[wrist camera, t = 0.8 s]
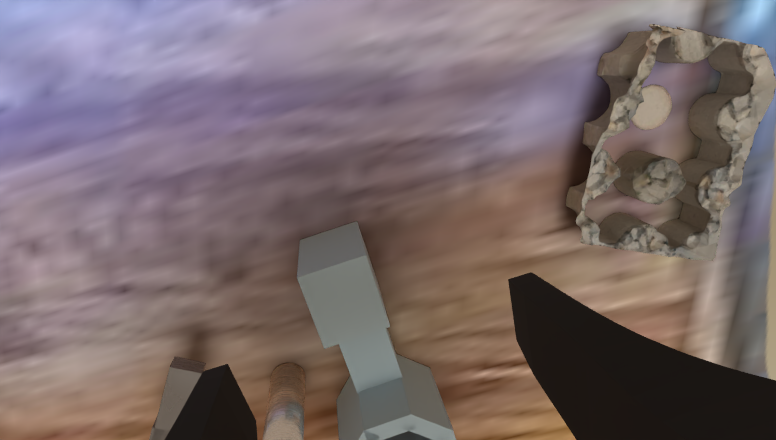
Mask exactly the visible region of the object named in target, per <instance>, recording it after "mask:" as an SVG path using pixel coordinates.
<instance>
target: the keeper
mask: <svg viewBox="0 0 776 440" xmlns="http://www.w3.org/2000/svg"><path fill="white" fill-rule="evenodd" d="M205 365H206V363H204V362H199V361H194V360H189V359H185V358H180V357H174V359H173V361H172V364H171V366H170V368H169V372H168V376H167V380H166V384H165V388H164V392H163V396H162V400H161V404H160V408H159V412H158V416H157V418H156V420H155V423H154V425H153V427H152V431H151V435H150V439H149V440H165V438H166V436H167V435H168V433H169V431H170V429H171V428H172V426H173V424H174V423H175V421H176V419H177V417H178V415H179V414H180V412H181V410H182V408H183V406H184V405H185V403H186V401H187V399H188V397H189V396H190V394H191V392H192V390H193V388H194V386H195V385H196V383H197V381H198V379H199V378H200V376H201V374H202V373H203V371H204V369H205Z"/></svg>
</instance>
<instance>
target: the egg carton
mask: <svg viewBox="0 0 776 440" xmlns="http://www.w3.org/2000/svg"><path fill="white" fill-rule="evenodd" d="M649 26H650V27H651V28H652V29H653V31H639V32H629V33H628V35H627V37H626V38H625V40H624V41H623V43H622V44H621V45H620V46H619V47H618V48H617V49H615V50H614V51H612V52H609V53H604V54H603V56H602V57H601V59H600V62H599V66H598V72H597V75H598V76H600V77H601V78H603V79H604V80H605V82H606V83H607V84H608V85H609V88H610V95H611V99H610V104H609V107H608V109H607V110H606V111H605V113H604V114H603V115H602V116H601V117H599V118H598V119H597V120H594V121H591V122H585V124H584V137H583V144H584V145H586V146H587V147H589V149H590V150H591V151H592V152H593V155H592V160H591V166H590V171H589V175H588V179H587V180H586V181H585V182H583V183H582V184H580V185H577V186H572V187H570V188H569V191H568V193H567V198H566V206H567V207H569V208H571V209H573V210H574V211H575V212H576V213H577V215H578V217H577V218H576V224H577V225H578V226H580V229H581V230H582V238H581V239H580V241H581V243H584V244H588V245H593V244H595V245H601V246H607V247H612V248H615V249H621V250H631V251H637V252H643V253H649V254H656V255H662V256H668V257H673V256H675V257H681V258H687V259H693V260H709V261H713V259H714V258H715V256H716V249H717V243H718V238H719V234H720V230H721V227H722V224H721V217H722V214H723V211H724V209H725V208H726V207H728V206H730V200H729V198H728V197H729V195H730V193H731V192H732V191H733V190H735V189H736V188H738V187H739V186H740V185H741V182H742V174H743V168H744V165H745V161H746V159H747V157H748V155H749V152H750V150H751V148H752V143H753V138H754V134H755V132H756V130H757V127H758V125H759V123H760V122H761V120H762V118H763V116H764V114H765V112H766V110H767V109H768V107H769V105H770V103H771V101H772V99H773V96H774V92H775V88H776V80H775V74H774V71H773V69H772V66H771V63H770V60H769V58H768V55H767V53H766V51H765V49H764V48H762V47H759V46H756V45H751V44H745V43H742V42H738V41H734V40H730V39H725V38H718V37H714V36H710V35H707V34H704V33H702V32H697V31H693V30H689V29H685V28H680V27H677V29H674V28H669V27H665V26H660V25H655V24H650V25H649ZM706 57H707V58H708V61H709V64H710V66H711V67H712V68H713V69H714V70H716V71H719V72H720V73H721V79H720V83H719V86H718V89H717V91H716V93H709V94H706V95H704V96H702V97H700V98H699V99H698V100H697V101H696V102H695V103H694V104H693V106H692V108H691V110H690V112H689V117H688V122H689V127H690V130H691V131H692V132H693V134H694V135H696V136H697V137H699V138H700V139H702V143H701V146H700V150H699V153H698V156H697V158H695V159H689V160H686V161H684V162H682V163H681V164H679V165H678V163H677V162H676V161H674V160H672V159H670V158H665V157H661V156H657V155H654V154H650V153H647V152H643V151H631V152H628V153H626V154H624V155H623V156H622V157H621V158H620V159H619V160H618V161H617V163H616V164H615V163H614V161H613V160H612V158H611V156H610V154H609V153H608V152H607V151H605V150H603V149H602V148H601V147H602V145H603V143H604V141H605V140H606V139H608V138H609V137H612V136H614V135H617V134H619V133H621V132H623V131H625V130H626V129H627V128H629V120H632V122H633V124H634V125H635V126H636V127H638V128H640V129H642V130H651V129H654V128H656V127H659V126H660V125H661V124H662V123H664V122H665V120H666V118H667V117H668V115H669V113H670V111H671V109H672V102H671V96H670V95H669V93H668V92H667V90H666V89H665V88H664V87H662V86H659V85H648V86H646V87H643V88H642V87H641V86H642V84H643V83H644V81H645V80H646V78H647V77H648V76H649V74H650V72H651V70H652V68H653V66H654V64H655V60H656V61H659V62H663V63H695V62H698V61H701V60H703V59H705V58H706ZM612 182H613V183H614V185H615V187H616V188H617V189H618V190H619V191H621V192H623V193H624V194H627V195H626V196H628V195H629V196H631V197H633V198H636V199H638V200H640V201H643V202H646V203H651V204H661V203H662V202H664V201H666V200H668V199H671V198H673V197H676V198H677V199H679V200H681V201H682V202H683V207H682V210H681V214H680V217H679V218H678V219H674V220H670V221H667V222H665V223H663V224H662V225H661V226H660V227H659V228H658V230H656V229H655V227H653V226H652V225H650V224H647V223H645V222H643V221H641V220H639V219H637V218H635V217H633V216H630V215H628V214H626V213H614V214H612V215H610V216H608V217H607V218H605V219H604V220H603V221H602V223H601V224H600V226H599V227H598V225H597V224H596V223H595V222H594V221H593V220H591V219H590V218H588V217H587V216H585V215H584V213H585V205H586V203H587V201H588V199H589V200H594V198H595V197H596V196H597V195H600V194H602V193H604V192H606V191H607V189H608V188H609V186H610V185H611V183H612Z"/></svg>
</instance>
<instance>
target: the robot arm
mask: <svg viewBox="0 0 776 440" xmlns="http://www.w3.org/2000/svg"><path fill="white" fill-rule="evenodd" d="M508 281H509V288H510V296H511V303H512V310H513V317H514V324H515V332H516V339H517V342H518V344H519V346H520V348H521V350H522V352H523V354H524V356H525V358H526V360H527V362H528V364H529V366H530V368H531V370H532V372H533V374H534V376H535V377H536V379H537V380H538V382H539V383H540V385H541V387H542V388H543V390H544V391H545V393H546V394H547V396H548V397H549V399H550V400H551V402H552V403H553V405H554V406H555V408H556V409H557V411H558V412H559V414H560V415H561V417H562V418H563V420H564V421H565V423H566V424H567V426H568V427H569V429H570V430H571V432H572V433H573V435H574V436H575V438H576V439H577V440H776V381H775V380H771V379H768V378H764V377H760V376H756V375H752V374H748V373H745V372H741V371H738V370H734V369H731V368H727V367H724V366H721V365H718V364H715V363H712V362H709V361H706V360H703V359H700V358H697V357H694V356H691V355H688V354H686V353H683V352H680V351H677V350H675V349H672V348H670V347H668V346H665V345H663V344H660V343H658V342H656V341H653V340H651V339H648V338H646V337H644V336H642V335H639V334H637V333H635V332H633V331H631V330H629V329H627V328H625V327H623V326H621V325H619V324H617V323H615V322H613V321H611V320H609V319H608V318H606V317H604V316H602V315H600V314H599V313H597V312H595V311H593V310H592V309H590V308H588V307H586V306H585V305H583V304H581V303H580V302H578V301H576V300H575V299H573V298H571V297H570V296H568V295H567V294H565V293H563V292H562V291H560V290H559V289H557V288H555V287H554V286H552V285H551V284H549V283H548V282H546V281H544V280H543V279H541V278H540V277H538V276H537V275H535V274H533V273H527V274H524V275H521V276H518V277H514V278H511V279H508ZM165 440H257V427H256V420H255V418H254V416H253V414H252V412H251V410H250V408H249V406H248V404H247V402H246V400H245V398H244V396H243V394H242V392H241V390H240V388H239V386H238V384H237V382H236V380H235V378H234V376H233V374H232V372H231V370H230V368H229V366H228V364H226V365H223V366H219V367H216V368H213V369H209V370H206V371H203V373H202V374H201V376H200V378H199V379H198V381H197V383H196V385H195V386H194V388H193V390H192V392H191V394H190V396H189V397H188V399H187V401H186V403H185V405H184V406H183V408H182V410H181V412H180V414H179V415H178V417H177V419H176V421H175V423H174V424H173V426H172V428H171V429H170V431H169V433H168V435H167V436H166V438H165Z"/></svg>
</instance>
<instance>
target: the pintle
mask: <svg viewBox="0 0 776 440" xmlns="http://www.w3.org/2000/svg"><path fill="white" fill-rule="evenodd" d="M304 400H305V373H304V371H303V369H302V368H301V367H300V366H298V365H296V364H294V363H284V364H281V365H279V366H277V367H276V368H275V369H274V371H273V372H272V375H271V382H270V389H269V397H268V404H267V411H266V419H265V426H264V433H263V440H303V435H304Z"/></svg>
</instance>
